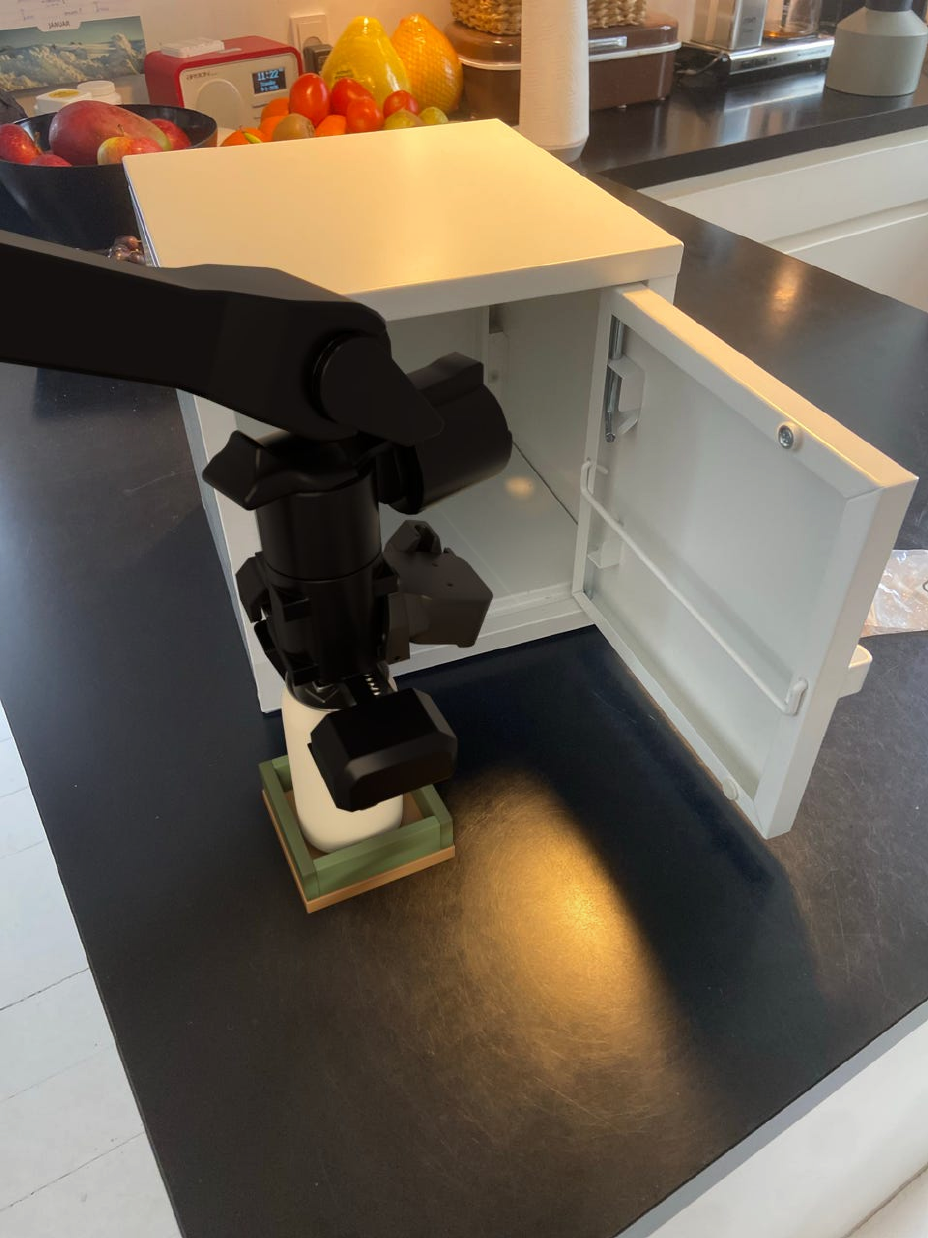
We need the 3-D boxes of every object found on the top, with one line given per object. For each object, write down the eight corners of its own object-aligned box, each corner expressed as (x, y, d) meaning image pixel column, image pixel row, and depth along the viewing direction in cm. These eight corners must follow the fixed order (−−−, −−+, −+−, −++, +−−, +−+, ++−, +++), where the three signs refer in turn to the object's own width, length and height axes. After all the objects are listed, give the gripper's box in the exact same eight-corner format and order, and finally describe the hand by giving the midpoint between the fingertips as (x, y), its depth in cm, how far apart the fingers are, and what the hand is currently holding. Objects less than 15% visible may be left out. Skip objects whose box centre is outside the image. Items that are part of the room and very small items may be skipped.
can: (425, 813, 57) (422, 669, 50) (351, 879, 53) (336, 734, 46) (351, 763, 60) (338, 621, 53) (277, 823, 56) (251, 678, 49)
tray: (308, 914, 53) (301, 878, 51) (263, 799, 59) (255, 763, 57) (455, 856, 56) (455, 820, 54) (398, 753, 62) (395, 717, 60)
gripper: (564, 610, 40) (544, 834, 50) (403, 432, 53) (412, 637, 63) (323, 683, 37) (352, 910, 46) (214, 473, 50) (254, 684, 59)
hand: (347, 766), depth 54 cm, fingers closed on can, 6 cm apart
